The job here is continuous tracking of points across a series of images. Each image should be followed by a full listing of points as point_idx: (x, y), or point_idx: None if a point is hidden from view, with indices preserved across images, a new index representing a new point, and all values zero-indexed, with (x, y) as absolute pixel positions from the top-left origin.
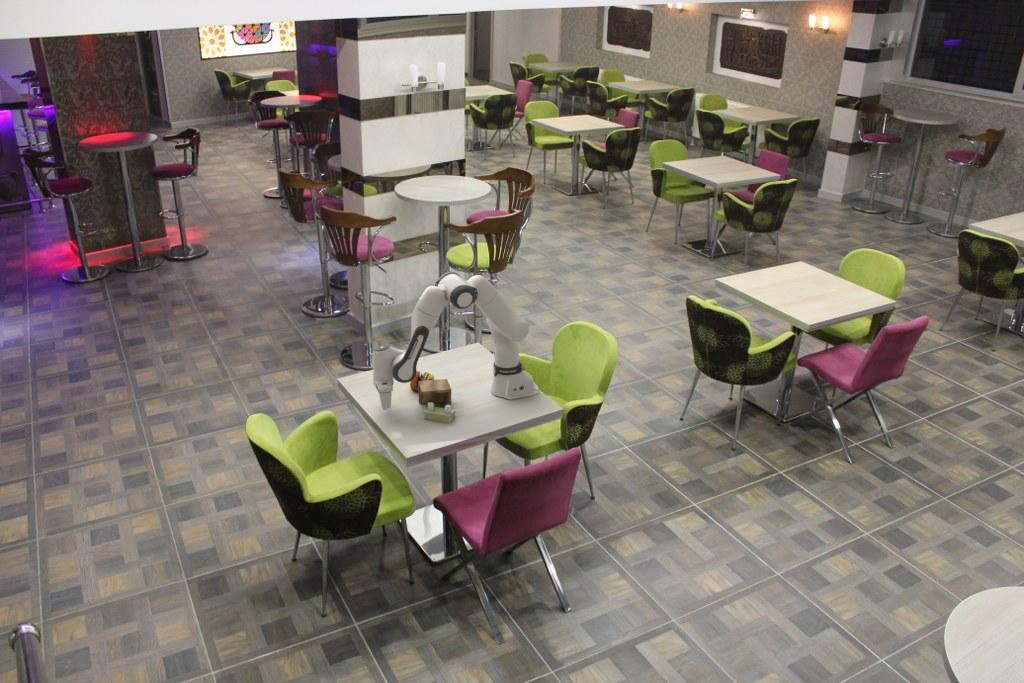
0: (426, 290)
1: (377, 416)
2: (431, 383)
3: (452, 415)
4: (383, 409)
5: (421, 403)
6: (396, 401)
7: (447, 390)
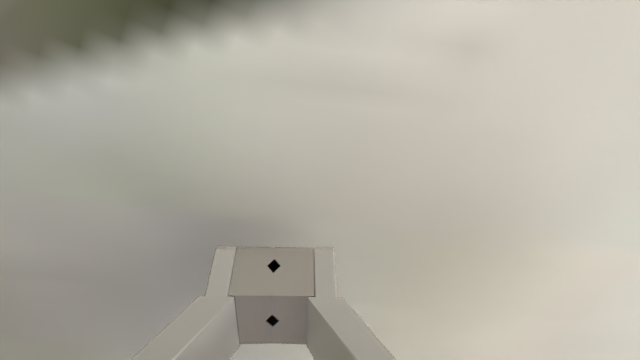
0: None
1: (110, 111)
2: None
3: None
4: (215, 257)
5: None
6: (522, 350)
7: None
